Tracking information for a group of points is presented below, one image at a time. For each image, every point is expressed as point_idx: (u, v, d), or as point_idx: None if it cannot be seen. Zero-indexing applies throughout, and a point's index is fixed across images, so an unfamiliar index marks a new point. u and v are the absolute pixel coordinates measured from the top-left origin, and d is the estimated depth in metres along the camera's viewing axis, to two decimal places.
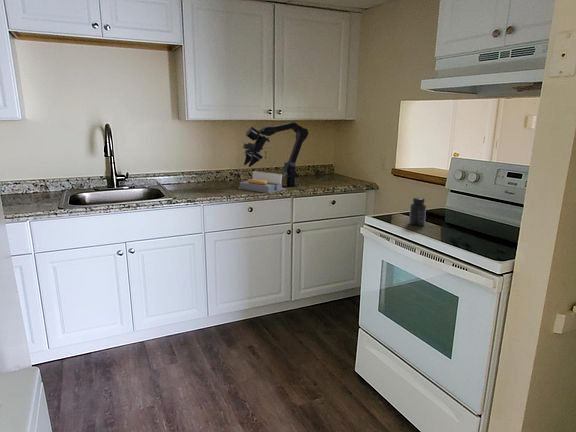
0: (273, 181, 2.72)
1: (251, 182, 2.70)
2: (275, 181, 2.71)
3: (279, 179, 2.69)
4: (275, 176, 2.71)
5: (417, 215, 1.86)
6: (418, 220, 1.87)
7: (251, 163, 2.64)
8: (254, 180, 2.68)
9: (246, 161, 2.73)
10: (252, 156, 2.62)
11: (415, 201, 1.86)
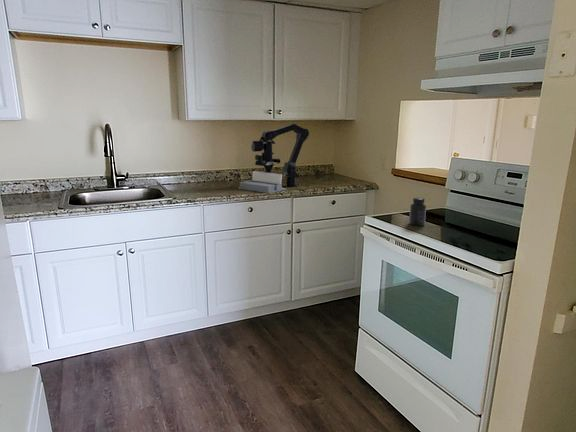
0: (273, 181, 2.72)
1: None
2: (275, 181, 2.71)
3: (279, 179, 2.69)
4: (275, 176, 2.70)
5: (417, 215, 1.86)
6: (418, 220, 1.87)
7: (267, 171, 2.75)
8: None
9: None
10: (263, 165, 2.74)
11: (415, 201, 1.86)
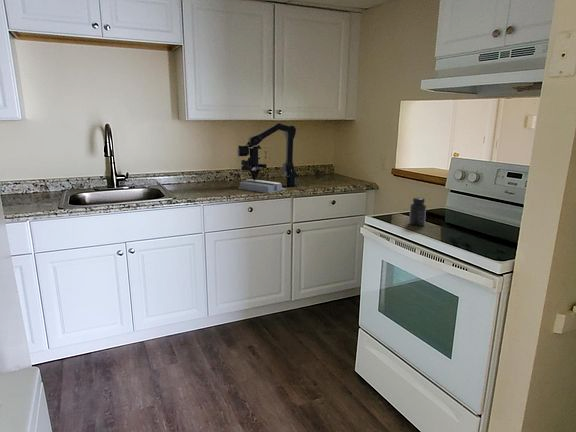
0: None
1: None
2: (274, 183, 2.70)
3: (276, 183, 2.67)
4: None
5: (417, 215, 1.86)
6: (418, 220, 1.87)
7: (253, 176, 2.74)
8: None
9: None
10: (249, 170, 2.73)
11: (415, 201, 1.86)
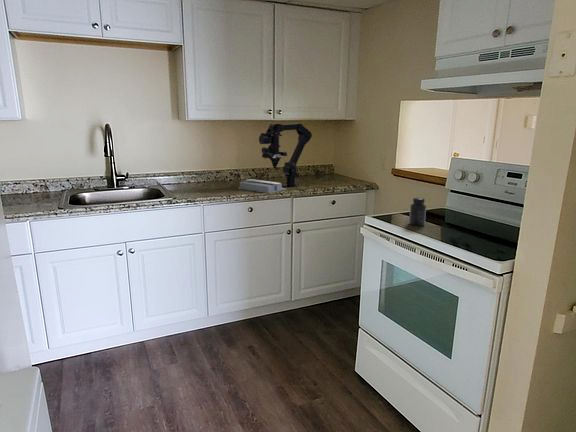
0: None
1: None
2: (274, 183, 2.70)
3: (276, 183, 2.67)
4: None
5: (417, 215, 1.86)
6: (418, 220, 1.87)
7: (273, 164, 2.72)
8: None
9: None
10: (269, 158, 2.72)
11: (415, 201, 1.86)
